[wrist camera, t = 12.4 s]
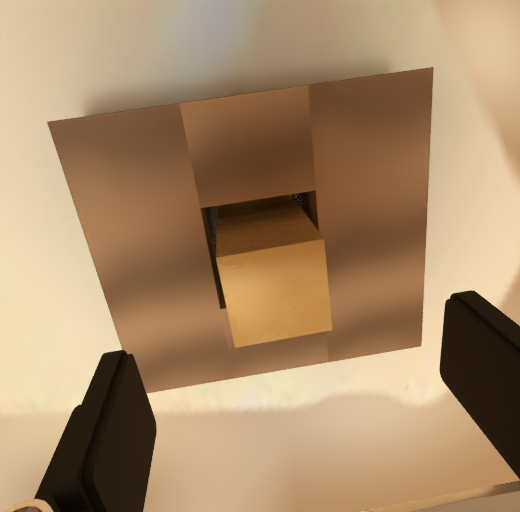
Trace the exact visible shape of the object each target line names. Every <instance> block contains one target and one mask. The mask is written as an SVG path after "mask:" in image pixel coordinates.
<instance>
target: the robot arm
mask: <svg viewBox="0 0 520 512" xmlns="http://www.w3.org/2000/svg"><path fill="white" fill-rule="evenodd" d="M440 375H441V378H442V380H443V381H444V383H445V384H446V385H447V387H448V388H449V389H450V391H451V392H452V393H453V394H454V396H455V397H456V398H457V399H458V401H459V402H460V403H461V405H462V406H463V407H464V408H465V410H466V411H467V412H468V413H469V415H470V416H471V417H472V419H473V420H474V421H475V422H476V424H477V425H478V426H479V428H480V429H481V430H482V432H483V433H484V434H485V435H486V437H487V438H488V439H489V440H490V442H491V443H492V444H493V446H494V447H495V448H496V449H497V450H498V452H499V453H500V455H501V456H502V457H503V458H504V460H505V461H506V462H507V464H508V465H509V466H510V467H511V469H512V470H513V471H514V473H515V474H516V475H517V476H518V478H519V479H520V326H519V325H518V324H516V323H515V322H514V321H513V320H511V319H510V318H509V317H507V316H506V315H505V314H504V313H502V312H501V311H500V310H498V309H497V308H496V307H495V306H493V305H492V304H491V303H489V302H488V301H487V300H486V299H484V298H483V297H482V296H480V295H479V294H478V293H477V292H475V291H465V292H459V293H454V294H452V295H451V297H450V299H448V300H447V301H446V303H445V313H444V324H443V336H442V347H441V359H440ZM155 438H156V421H155V418H154V415H153V412H152V409H151V406H150V403H149V400H148V397H147V394H146V391H145V388H144V385H143V382H142V379H141V376H140V373H139V370H138V367H137V364H136V361H135V358H134V355H133V354H127V352H126V351H125V350H120V351H114V352H108V353H104V354H103V355H102V357H101V359H100V362H99V364H98V366H97V369H96V371H95V373H94V376H93V378H92V381H91V383H90V385H89V388H88V390H87V392H86V395H85V397H84V399H83V402H82V404H81V405H78V406H77V407H75V409H74V410H73V412H72V414H71V416H70V418H69V421H68V423H67V426H66V427H65V430H64V432H63V434H62V437H61V439H60V441H59V443H58V446H57V448H56V450H55V452H54V455H53V457H52V459H51V462H50V464H49V466H48V468H47V471H46V473H45V475H44V477H43V480H42V482H41V484H40V487H39V489H38V491H37V494H36V495H35V498H34V499H31V500H25V501H23V502H20V503H17V504H15V505H13V506H12V507H10V508H8V509H7V510H5V511H3V512H143V509H144V503H145V497H146V491H147V485H148V478H149V473H150V467H151V462H152V455H153V450H154V444H155ZM360 512H520V481H516V482H510V483H505V484H500V485H494V486H489V487H484V488H479V489H473V490H468V491H463V492H457V493H452V494H447V495H442V496H436V497H431V498H426V499H421V500H416V501H411V502H405V503H400V504H396V505H390V506H385V507H380V508H375V509H369V510H364V511H360Z"/></svg>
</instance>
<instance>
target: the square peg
mask: <svg viewBox="0 0 520 512" xmlns="http://www.w3.org/2000/svg"><path fill="white" fill-rule="evenodd" d="M216 260H217V265H218V270H219V275H220V279H221V284H222V289H223V293H224V298H225V303H226V307H227V312H228V317H229V321H230V326H231V331H232V335H233V340H234V345H235V348H238V347H243V346H248V345H254V344H259V343H265V342H270V341H276V340H281V339H286V338H292V337H297V336H303V335H308V334H314V333H319V332H324V331H330V330H332V321H331V309H330V298H329V287H328V276H327V265H326V253H325V242H324V238H323V236H322V235H321V234H320V232H319V231H318V230H317V228H316V227H315V226H314V224H313V223H312V222H311V220H310V219H309V218H308V216H307V215H306V214H305V212H304V211H303V210H302V208H301V207H300V206H299V204H298V203H297V202H296V200H295V199H294V198H293V196H292V195H291V194H290V195H283V196H276V197H270V198H263V199H257V200H250V201H244V202H237V203H231V204H224V205H218V206H217V237H216Z"/></svg>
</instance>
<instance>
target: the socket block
mask: <svg viewBox="0 0 520 512" xmlns="http://www.w3.org/2000/svg"><path fill="white" fill-rule="evenodd" d="M432 86H433V67H431V68H424V69H417V70H410V71H403V72H396V73H389V74H382V75H375V76H368V77H361V78H354V79H347V80H340V81H332V82H325V83H318V84H311V85H304V86H297V87H290V88H283V89H276V90H269V91H262V92H255V93H248V94H241V95H234V96H227V97H220V98H213V99H206V100H199V101H191V102H184V103H177V104H170V105H163V106H156V107H149V108H142V109H135V110H128V111H121V112H114V113H107V114H100V115H93V116H86V117H79V118H72V119H65V120H57V121H50V122H47V123H48V126H49V129H50V132H51V135H52V138H53V141H54V144H55V147H56V150H57V153H58V156H59V159H60V162H61V165H62V168H63V171H64V174H65V177H66V180H67V183H68V186H69V189H70V192H71V196H72V199H73V202H74V205H75V208H76V211H77V214H78V217H79V220H80V223H81V226H82V229H83V232H84V235H85V238H86V241H87V244H88V247H89V250H90V253H91V256H92V259H93V262H94V265H95V268H96V271H97V274H98V277H99V280H100V283H101V286H102V289H103V292H104V295H105V298H106V301H107V304H108V307H109V310H110V313H111V316H112V319H113V322H114V325H115V328H116V331H117V335H118V338H119V341H120V344H121V347H122V350H125V351H126V352H127V354H133V355H134V358H135V361H136V364H137V367H138V370H139V373H140V376H141V379H142V382H143V385H144V388H145V391H146V393H151V392H157V391H163V390H169V389H175V388H181V387H186V386H192V385H198V384H204V383H210V382H215V381H221V380H227V379H233V378H239V377H245V376H250V375H256V374H262V373H268V372H274V371H279V370H285V369H291V368H297V367H303V366H309V365H314V364H320V363H326V362H332V361H338V360H343V359H349V358H355V357H361V356H367V355H373V354H378V353H384V352H390V351H396V350H402V349H407V348H413V347H419V346H421V341H422V318H423V295H424V272H425V248H426V225H427V202H428V179H429V156H430V132H431V109H432ZM296 193H299V194H300V205H301V208H302V210H303V211H304V212H305V214H306V215H307V216H308V218H309V219H310V220H311V222H312V223H313V224H314V226H315V227H316V228H317V230H318V231H319V232H320V234H321V235H322V236H323V238H324V242H325V253H326V265H327V276H328V287H329V298H330V309H331V321H332V330H330V331H324V332H319V333H314V334H308V335H303V336H297V337H292V338H286V339H281V340H276V341H270V342H265V343H259V344H254V345H248V346H243V347H238V348H235V345H234V340H233V335H232V331H231V326H230V321H229V317H228V312H227V307H226V303H225V298H224V293H223V289H222V284H221V279H220V275H219V270H218V265H217V260H216V248H215V243H214V237H213V232H212V227H211V222H210V216H209V211H208V207H211V206H218V205H224V204H231V203H237V202H244V201H250V200H257V199H263V198H270V197H276V196H283V195H290V194H296Z"/></svg>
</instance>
